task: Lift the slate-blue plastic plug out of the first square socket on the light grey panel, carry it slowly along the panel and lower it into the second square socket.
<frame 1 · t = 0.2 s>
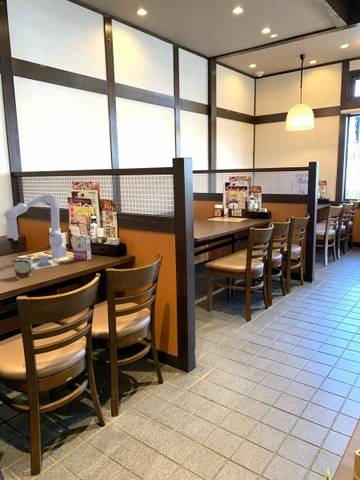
hand: (15, 250, 222), 10 cm above the table, tool pointing down, fingers open, 7 cm apart
plug: (44, 265, 220), point 1 cm above the table, touching panel
food container: (26, 275, 201), on the table
panel: (40, 264, 225), on the table
candy bar box: (82, 259, 235), on the table
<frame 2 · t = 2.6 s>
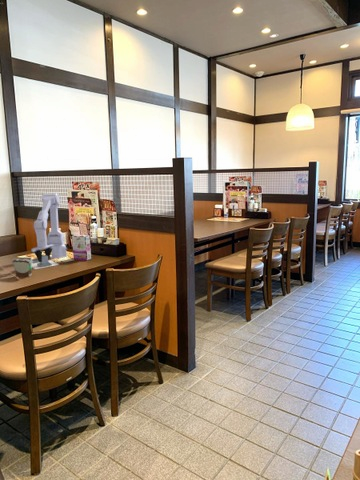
hand: (44, 260, 219), 3 cm above the table, tool pointing down, fingers closed on plug, 5 cm apart
plug: (44, 265, 220), point 1 cm above the table, touching gripper, panel
everything else where it was.
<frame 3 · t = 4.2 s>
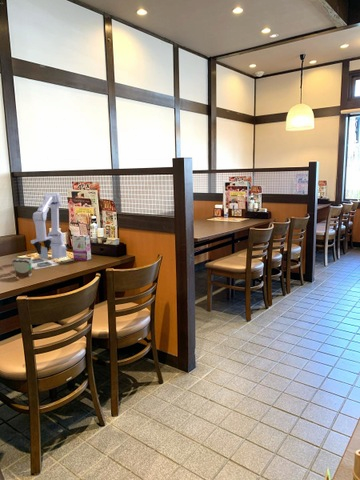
hand: (43, 252, 218), 9 cm above the table, tool pointing down, fingers closed on plug, 5 cm apart
plug: (43, 257, 219), point 6 cm above the table, touching gripper
everything else where it was.
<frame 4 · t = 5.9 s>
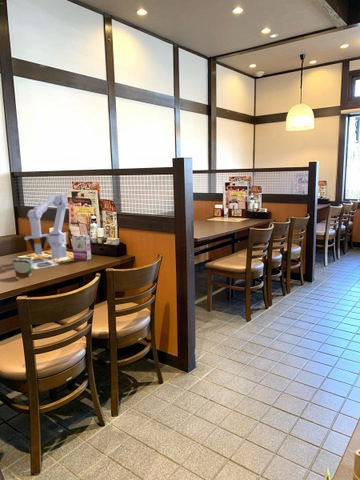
hand: (38, 249, 225), 9 cm above the table, tool pointing down, fingers closed on plug, 5 cm apart
plug: (38, 253, 225), point 7 cm above the table, touching gripper
everything else where it was.
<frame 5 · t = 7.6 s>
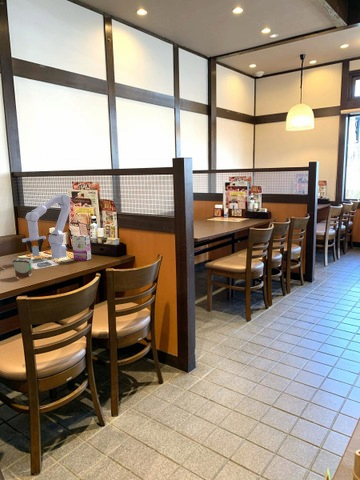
hand: (35, 251, 229), 7 cm above the table, tool pointing down, fingers closed on plug, 5 cm apart
plug: (36, 255, 229), point 5 cm above the table, touching gripper
everything else where it was.
when the fingers open (4 cm above the table, at t = 9.2 s): plug stays where it is, resting on panel.
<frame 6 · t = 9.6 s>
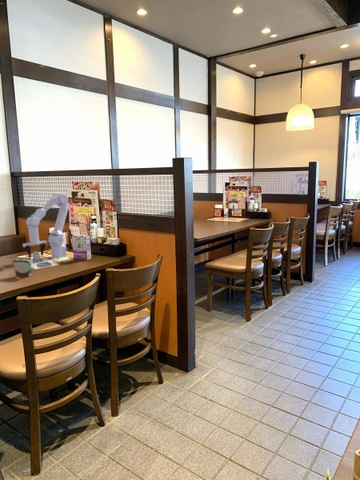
hand: (36, 256, 229), 4 cm above the table, tool pointing down, fingers open, 7 cm apart
plug: (36, 261, 230), point 1 cm above the table, touching panel
everything else where it was.
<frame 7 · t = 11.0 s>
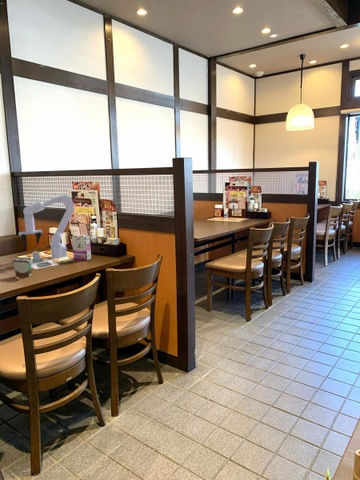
hand: (31, 244, 236), 10 cm above the table, tool pointing down, fingers open, 7 cm apart
nothing on the table moved.
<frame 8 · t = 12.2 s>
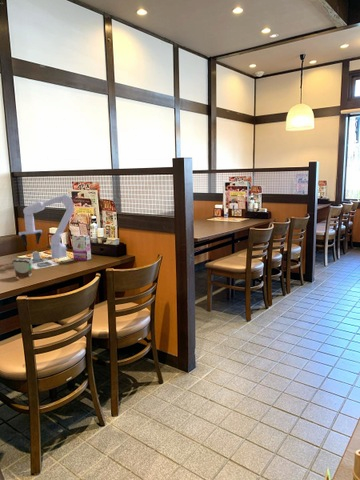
hand: (31, 244, 236), 10 cm above the table, tool pointing down, fingers open, 7 cm apart
nothing on the table moved.
at the end: plug 0.0 cm from the target spot on the panel, point 0.6 cm above the panel's base; plug tilted 0°; the gripper is holding nothing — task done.
